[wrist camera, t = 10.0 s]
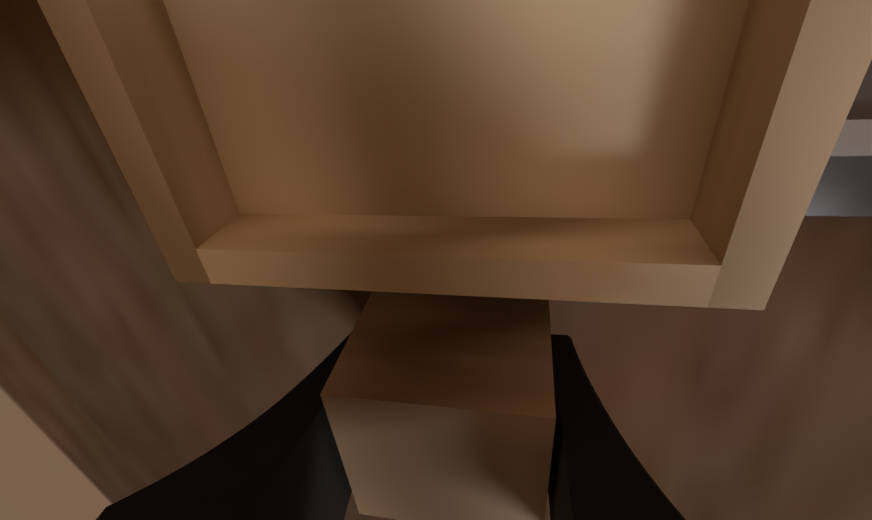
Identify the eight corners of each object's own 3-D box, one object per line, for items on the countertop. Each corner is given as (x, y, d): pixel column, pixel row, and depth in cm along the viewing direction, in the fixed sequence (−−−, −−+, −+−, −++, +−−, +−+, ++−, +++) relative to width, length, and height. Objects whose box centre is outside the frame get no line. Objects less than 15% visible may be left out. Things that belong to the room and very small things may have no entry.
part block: (546, 263, 12) (556, 418, 8) (538, 377, 14) (541, 541, 10) (388, 258, 13) (320, 394, 8) (406, 366, 15) (359, 513, 11)
